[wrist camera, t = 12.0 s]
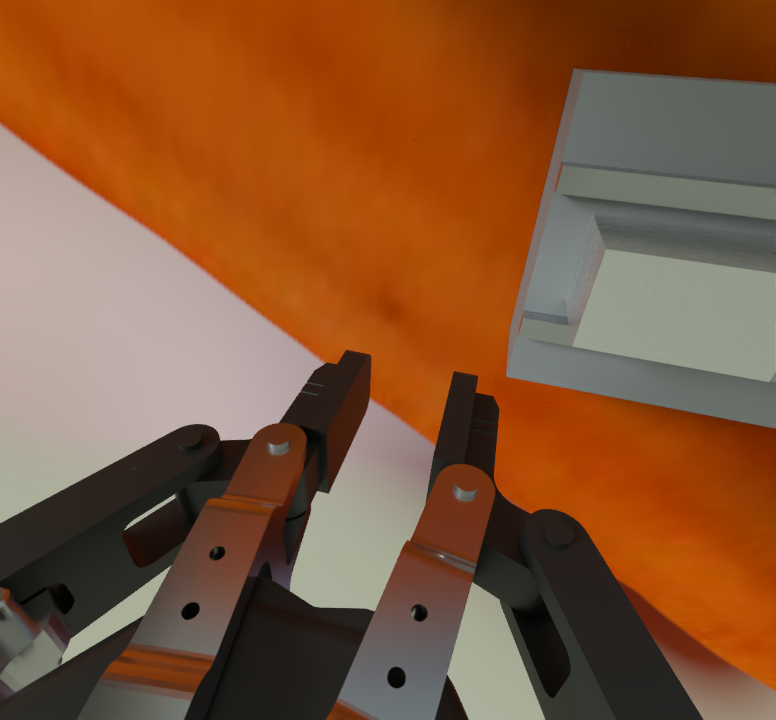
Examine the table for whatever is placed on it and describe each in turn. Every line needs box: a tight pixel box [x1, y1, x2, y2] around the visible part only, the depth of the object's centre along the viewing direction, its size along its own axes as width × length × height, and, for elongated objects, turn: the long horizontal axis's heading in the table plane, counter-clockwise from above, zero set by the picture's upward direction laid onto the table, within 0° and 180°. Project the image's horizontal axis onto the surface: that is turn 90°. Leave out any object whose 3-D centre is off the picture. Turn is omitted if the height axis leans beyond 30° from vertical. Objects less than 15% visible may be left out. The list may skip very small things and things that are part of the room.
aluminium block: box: [565, 213, 776, 382], centre depth 20 cm, size 8×5×5 cm, turn 84°
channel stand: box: [506, 68, 776, 429], centre depth 23 cm, size 20×16×9 cm
